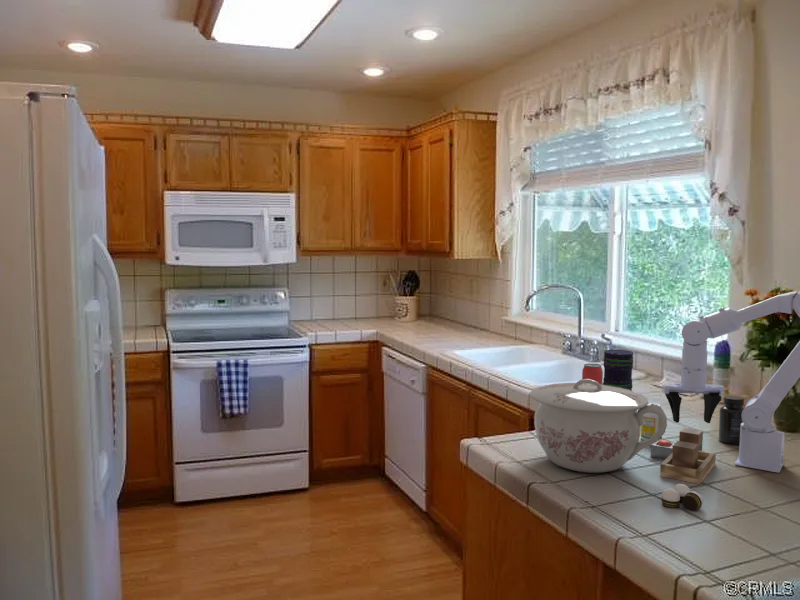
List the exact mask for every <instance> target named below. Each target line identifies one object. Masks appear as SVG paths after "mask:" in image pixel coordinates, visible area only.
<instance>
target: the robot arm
mask: <svg viewBox="0 0 800 600" xmlns="http://www.w3.org/2000/svg"><path fill="white" fill-rule="evenodd" d="M793 310H794V312H795V313H796V314H797V316H798V317H799V318H800V290H799V291H797V290H796V291H795V290H794V291H789V292H786V293H782V294H778V295H776V296H773V297H772V296H771V297H770V298H767V299H765V300H762V301H760V302H757V303H754V304H752V305H749V306H746V307H744V308H741V309H739V310H737V309H734V308H732V307H727V308H725V306H722V307H719V308H718V310H717V311H716V312H713V313H711V314H710V313H709V314H708V315H705V316H704V314H703V315H699V316H698V319H692V320H691V321H689V322H687V323H686V324H684V326H683V327H682V329H681V337H682V339H683V343H682V347H683V348H682V350H681V352H682V353H681V374H680V375H681V376H680V383H669V384H664V383H663V384H662V389H661V390H662V393H663V394H664V396H665V397H666V399H667V402H668V404H669V406H670V410H671V414H672V415H671V416H672V421H673V422H674V423H680V411H681V404H682V400H683V397H681V396H680V394H697V395H698V394H699V395H700V394H701V395H702V394H703V402H704V404H703V405H704V410H703V422H705V423H707V424H711V421H712V419H713V418H712V417H713V416H714V415H713V414H714V413H715V410H716V409H717V407H718V405H719V403H720V402H721V401H722V395H725V386H724V385H720V384H707V371H708V370H707V368H708V367H707V366H708V339H709V338H710V339H716V338H718V337H722V336H724V335H729V334H731V333H733V332H736V331H740V329H741V327H742V326H743V324H744V323H746V322H749V321H752V320H755V319H758V318H763V317H765V316H768V315H771V314H774V313H783V314H784V313H785V314H790V315H791V314H792V313H793ZM799 379H800V340H799V341H798V342H797V343H796V345H795V346H794V348H793V349H792V350H791V352H790V353H789V354H788V356H787V357H786V359H784V360H783V362H782V364H781V365H780V366H779V368H778V369H777V370H776V372H775V373H774V374H773V376H771V378H770V379H769V380H768V382H767V383H766V384H765V386H763V388H762V389H761V390H760V391H759V393H758V394H757V395H756V396H754V397H752V398H750V399H748V400H747V401H746V403H745V404H744V410H743V411H742V421H743V423H741V427H740V445H738V446H739V448H738V451H739V452H738V457H737V459H736V460H735V462H734V466H739V467H744V468H750V469H756V470H760V471H761V470H762V471H767V472H773V473H780V472H781V470H782V468H783V466H784V464H785V456H784V455H785V454H784V453H785V437H786V436H785V432H783V431H779V430H775V428H776V427H775V426H774V425H773V423H772V421H773V417H774V415H775V411H776V410H777V409H778V407H779V406H780V404H781V402H782V401H783V400H784V399H785V397H786V396H787V394H788V393H789V392H790V391H791V389H792V388H793V386H794V385H795V384H796V383H797V382H798V380H799Z"/></svg>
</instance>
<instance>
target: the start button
mask: <svg viewBox="0 0 800 600" xmlns="http://www.w3.org/2000/svg"><path fill="white" fill-rule="evenodd" d="M670 442H671V441H669V440H666V439H662V440H659V441H658V445H661V446H666V447H670Z"/></svg>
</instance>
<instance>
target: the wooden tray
mask: <svg viewBox="0 0 800 600" xmlns="http://www.w3.org/2000/svg"><path fill="white" fill-rule="evenodd" d="M672 454H673V453H671V454H670V455H669V456H668V457H667V458H666V459H663V461H662V462H660V469H659V470H660V471H659V473H660V474H659V476H660V477H662V478H668V479H674V480H678V481H683V482H688V483H692V484H698V485H700V484H702V482H703V481H704V480H705V478H706V477H707V476H708V475H709V473H710V472H711V471H712V469H713V468H714V467H715V466H716V460H717V459H716V458H717V457H716V454H717V453H715V452H711V451H704V450H702V451H700V450H698V467H697V470H696V469H691V468H686V467H681V466H675V465H672ZM707 474H708V475H707Z"/></svg>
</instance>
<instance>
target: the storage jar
mask: <svg viewBox="0 0 800 600" xmlns="http://www.w3.org/2000/svg"><path fill="white" fill-rule="evenodd" d="M603 354H604V355H603V369H604V370H603V383H602V384H603V385H610V386H616V387H620V388H625V389H628V390H631V391H633V379H632V378H633V369H634V352H633V351H630V350H624V349H607V350H604V351H603Z"/></svg>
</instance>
